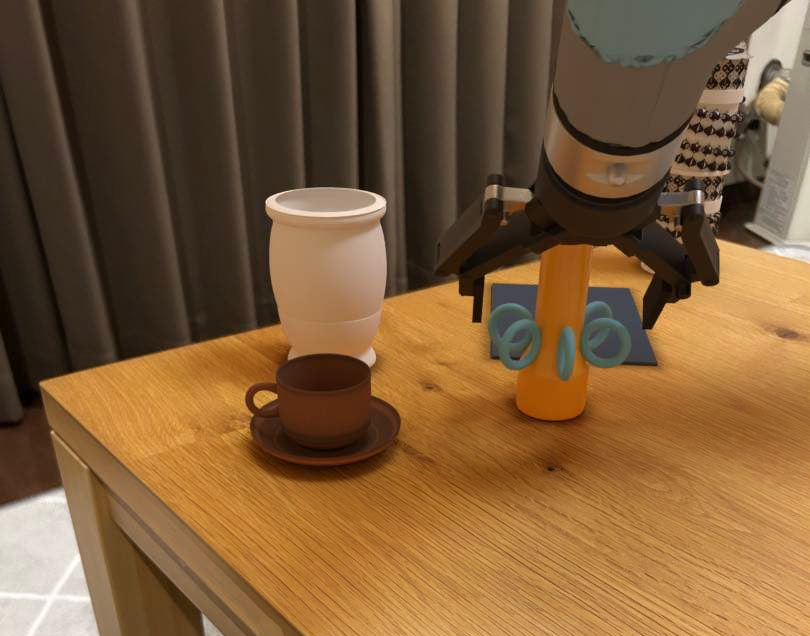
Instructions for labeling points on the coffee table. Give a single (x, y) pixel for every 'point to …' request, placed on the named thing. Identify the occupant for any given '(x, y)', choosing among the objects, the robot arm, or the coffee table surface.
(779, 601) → the coffee table surface
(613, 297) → the dark grey flat rectangle
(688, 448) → the coffee table surface
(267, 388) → the cup and saucer
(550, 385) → the cylinder
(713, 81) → the decorative candle
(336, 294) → the jar
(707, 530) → the coffee table surface
